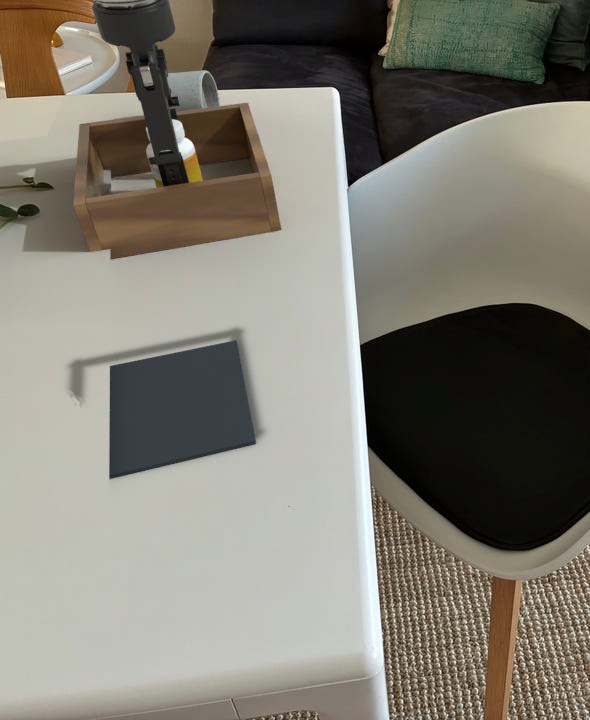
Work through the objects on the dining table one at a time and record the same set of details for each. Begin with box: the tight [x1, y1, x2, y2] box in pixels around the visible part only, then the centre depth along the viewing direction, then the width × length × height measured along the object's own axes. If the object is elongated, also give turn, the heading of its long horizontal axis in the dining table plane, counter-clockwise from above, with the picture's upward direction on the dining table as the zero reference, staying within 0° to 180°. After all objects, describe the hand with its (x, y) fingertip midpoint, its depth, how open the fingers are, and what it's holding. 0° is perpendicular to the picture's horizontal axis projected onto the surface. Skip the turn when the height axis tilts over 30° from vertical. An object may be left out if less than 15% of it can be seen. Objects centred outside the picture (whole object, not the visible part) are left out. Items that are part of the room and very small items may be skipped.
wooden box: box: [72, 102, 282, 260], centre depth 93 cm, size 21×20×7 cm
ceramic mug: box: [167, 69, 221, 112], centre depth 108 cm, size 11×8×8 cm
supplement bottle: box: [146, 119, 204, 188], centre depth 92 cm, size 5×5×10 cm
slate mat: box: [108, 339, 257, 479], centre depth 68 cm, size 14×14×1 cm
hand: (180, 184), depth 94 cm, fingers open, 13 cm apart
